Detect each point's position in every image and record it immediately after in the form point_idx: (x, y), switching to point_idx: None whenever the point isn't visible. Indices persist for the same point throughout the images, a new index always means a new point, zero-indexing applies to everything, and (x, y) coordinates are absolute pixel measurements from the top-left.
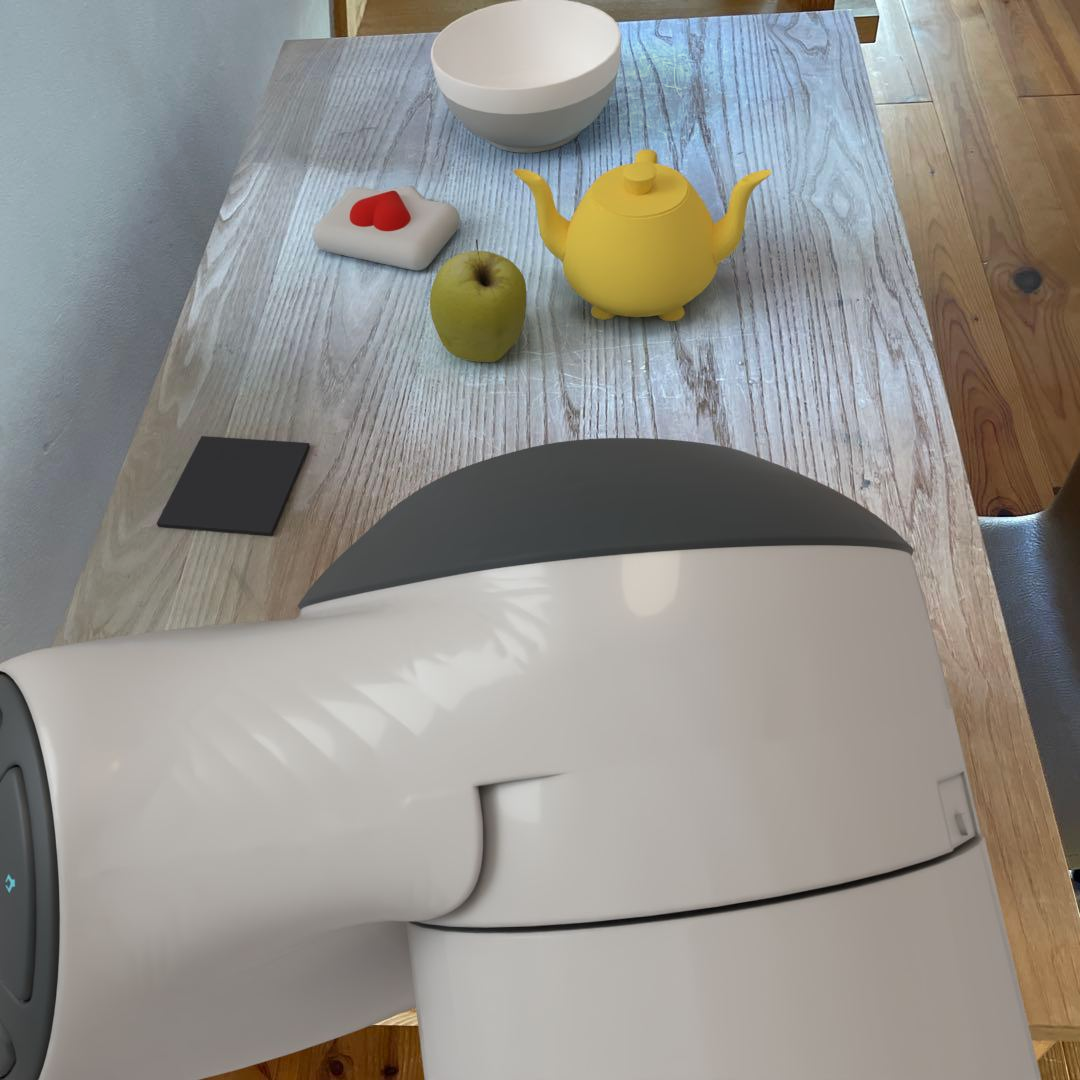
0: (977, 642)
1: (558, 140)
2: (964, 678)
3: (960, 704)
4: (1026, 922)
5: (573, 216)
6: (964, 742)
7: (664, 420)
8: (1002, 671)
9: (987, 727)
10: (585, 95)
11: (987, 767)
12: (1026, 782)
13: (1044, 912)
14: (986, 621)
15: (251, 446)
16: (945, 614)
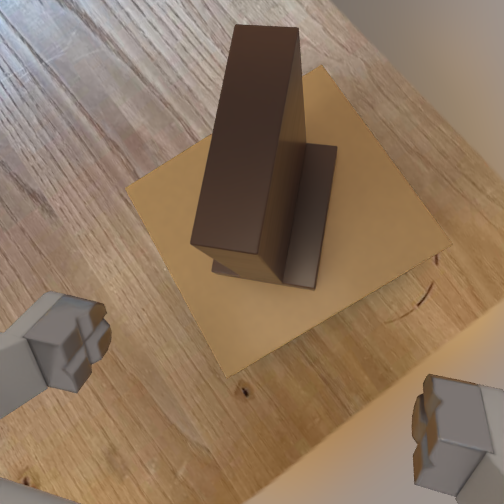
0: (336, 33)
1: None
2: (344, 67)
3: (354, 88)
4: (489, 215)
5: None
6: (373, 115)
7: (16, 17)
8: (365, 43)
9: (381, 92)
10: None
11: (399, 122)
12: (429, 114)
13: (495, 199)
14: (332, 12)
15: None
16: (302, 27)
